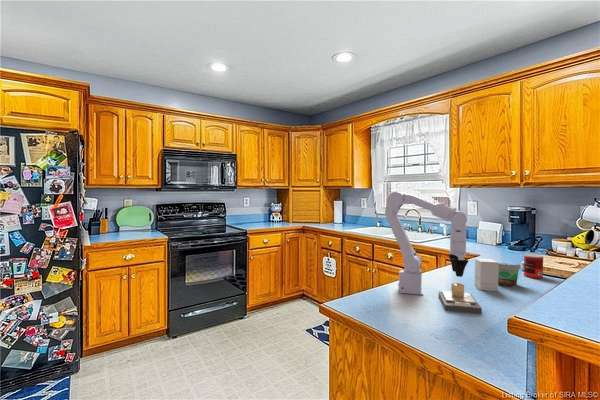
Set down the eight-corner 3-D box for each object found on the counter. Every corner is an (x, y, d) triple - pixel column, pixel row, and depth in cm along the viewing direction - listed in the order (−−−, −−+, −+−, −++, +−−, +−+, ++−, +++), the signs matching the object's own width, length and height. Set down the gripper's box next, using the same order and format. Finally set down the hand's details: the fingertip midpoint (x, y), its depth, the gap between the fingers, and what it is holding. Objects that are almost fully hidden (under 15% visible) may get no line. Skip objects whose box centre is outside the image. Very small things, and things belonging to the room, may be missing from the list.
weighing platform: (446, 301, 117) (446, 299, 117) (441, 291, 127) (441, 290, 127) (476, 304, 114) (476, 302, 114) (468, 294, 124) (468, 292, 124)
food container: (491, 285, 142) (492, 263, 142) (489, 281, 148) (489, 261, 147) (523, 288, 138) (524, 266, 137) (519, 284, 143) (520, 263, 143)
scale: (445, 310, 114) (445, 301, 114) (438, 296, 128) (438, 288, 128) (481, 313, 110) (481, 305, 110) (471, 299, 125) (471, 291, 125)
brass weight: (453, 297, 119) (453, 286, 119) (449, 293, 123) (450, 282, 123) (465, 298, 118) (465, 286, 118) (461, 294, 122) (462, 283, 122)
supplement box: (498, 291, 134) (499, 262, 134) (479, 290, 136) (480, 261, 135) (491, 285, 142) (492, 258, 141) (474, 284, 143) (474, 257, 143)
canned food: (541, 275, 157) (542, 254, 157) (543, 279, 151) (544, 257, 150) (523, 273, 161) (523, 252, 161) (524, 277, 155) (524, 255, 154)
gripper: (473, 244, 117) (472, 279, 118) (465, 238, 131) (464, 270, 132) (453, 243, 119) (452, 278, 120) (446, 237, 133) (446, 268, 134)
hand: (457, 273), depth 126 cm, fingers open, 7 cm apart
